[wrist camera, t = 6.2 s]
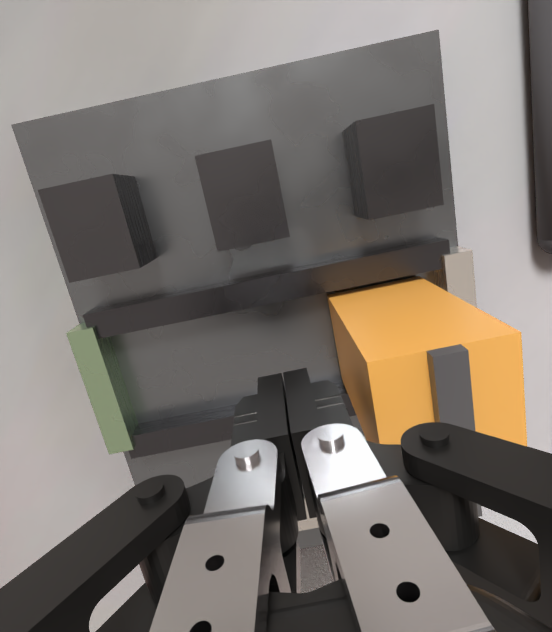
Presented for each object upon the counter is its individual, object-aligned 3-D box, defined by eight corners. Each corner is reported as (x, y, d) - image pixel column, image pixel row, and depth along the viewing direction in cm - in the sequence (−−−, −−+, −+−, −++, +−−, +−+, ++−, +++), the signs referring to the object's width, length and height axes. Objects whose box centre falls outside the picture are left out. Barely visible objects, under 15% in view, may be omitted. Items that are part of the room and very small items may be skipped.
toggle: (419, 276, 17) (531, 337, 10) (428, 361, 18) (537, 474, 11) (327, 295, 17) (370, 369, 10) (341, 378, 18) (391, 502, 11)
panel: (423, 44, 16) (470, -1, 12) (467, 494, 22) (510, 557, 18) (33, 130, 17) (-35, 112, 13) (172, 549, 22) (152, 621, 18)
